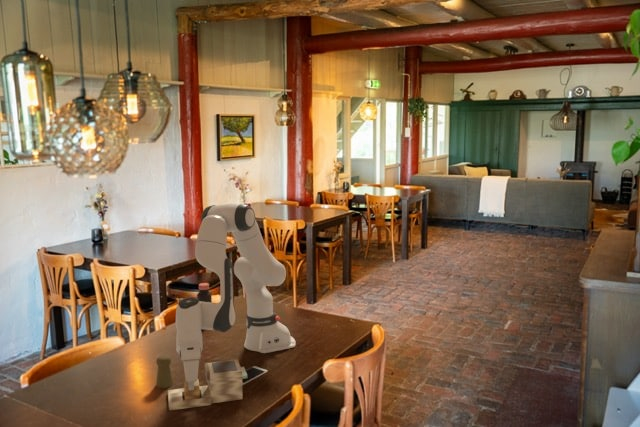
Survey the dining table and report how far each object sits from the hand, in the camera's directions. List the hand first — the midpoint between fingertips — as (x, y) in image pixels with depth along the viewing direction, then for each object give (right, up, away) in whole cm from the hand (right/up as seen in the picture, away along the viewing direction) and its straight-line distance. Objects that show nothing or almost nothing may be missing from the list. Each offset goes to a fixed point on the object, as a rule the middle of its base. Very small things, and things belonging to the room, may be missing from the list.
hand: (190, 383), depth 192 cm
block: (0, -6, +1) cm, 6 cm away
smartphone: (+18, -4, +20) cm, 27 cm away
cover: (+12, +2, +4) cm, 12 cm away
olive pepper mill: (-12, -4, +12) cm, 18 cm away
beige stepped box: (+5, -6, +2) cm, 8 cm away
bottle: (-10, +5, +74) cm, 75 cm away
